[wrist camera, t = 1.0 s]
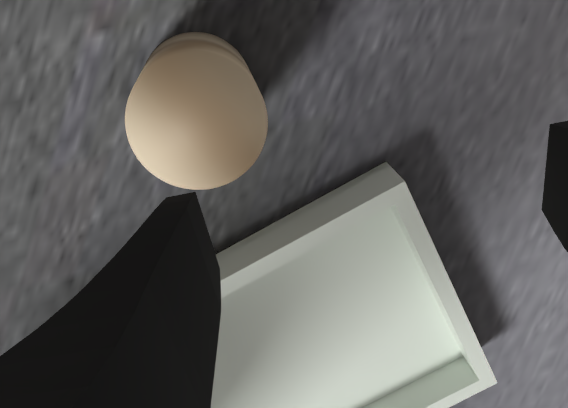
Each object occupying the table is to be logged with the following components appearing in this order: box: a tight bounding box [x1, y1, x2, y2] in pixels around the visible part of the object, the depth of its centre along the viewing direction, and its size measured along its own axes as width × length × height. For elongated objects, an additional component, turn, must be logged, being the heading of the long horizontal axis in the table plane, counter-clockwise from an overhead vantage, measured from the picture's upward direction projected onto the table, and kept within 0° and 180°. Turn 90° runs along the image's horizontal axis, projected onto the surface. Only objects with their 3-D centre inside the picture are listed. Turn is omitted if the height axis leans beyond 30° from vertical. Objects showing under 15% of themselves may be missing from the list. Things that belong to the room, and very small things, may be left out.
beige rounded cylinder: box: [125, 32, 268, 190], centre depth 20 cm, size 5×5×6 cm
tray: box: [211, 162, 497, 408], centre depth 27 cm, size 18×14×2 cm
